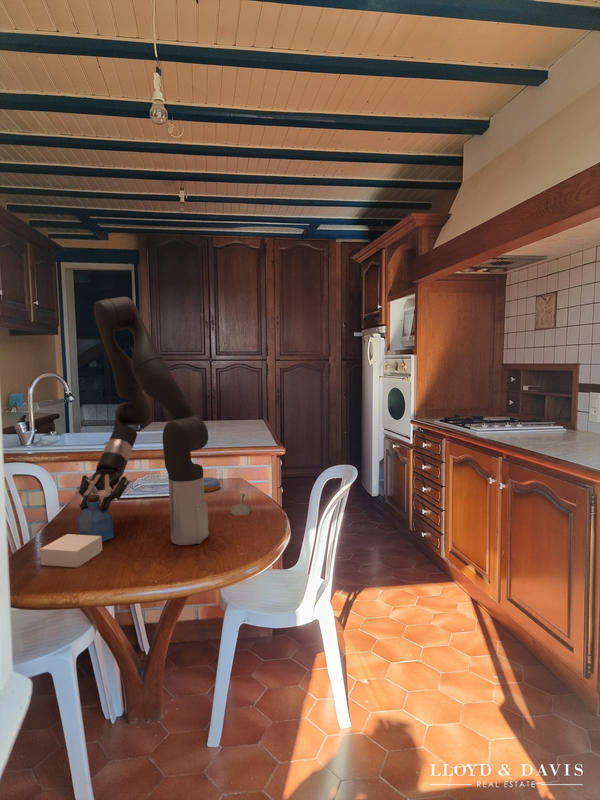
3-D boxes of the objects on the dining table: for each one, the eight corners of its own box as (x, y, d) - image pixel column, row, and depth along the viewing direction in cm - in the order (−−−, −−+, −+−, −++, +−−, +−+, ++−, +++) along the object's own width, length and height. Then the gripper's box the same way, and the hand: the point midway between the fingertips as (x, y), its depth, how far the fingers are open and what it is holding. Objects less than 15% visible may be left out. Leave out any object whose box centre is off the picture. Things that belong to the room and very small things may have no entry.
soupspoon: (229, 519, 153) (250, 519, 153) (229, 509, 152) (251, 509, 153) (233, 497, 174) (251, 497, 175) (233, 487, 174) (252, 488, 175)
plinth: (102, 551, 127) (101, 536, 126) (77, 567, 117) (76, 551, 116) (68, 548, 129) (67, 534, 128) (41, 564, 119) (40, 548, 118)
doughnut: (221, 484, 190) (219, 473, 190) (220, 492, 181) (218, 480, 180) (195, 488, 189) (193, 477, 188) (193, 496, 179) (191, 485, 179)
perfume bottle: (113, 537, 135) (110, 494, 134) (93, 545, 130) (90, 501, 128) (99, 533, 138) (96, 492, 137) (79, 540, 133) (76, 497, 132)
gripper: (86, 450, 141) (61, 503, 131) (131, 451, 139) (110, 505, 128) (99, 464, 147) (76, 516, 136) (142, 465, 144) (122, 518, 134)
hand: (92, 510), depth 132 cm, fingers closed on perfume bottle, 5 cm apart
